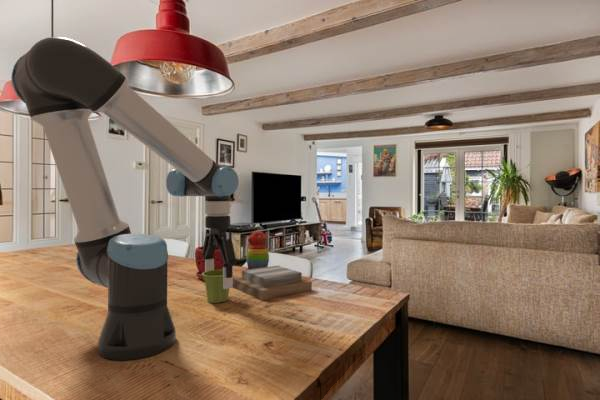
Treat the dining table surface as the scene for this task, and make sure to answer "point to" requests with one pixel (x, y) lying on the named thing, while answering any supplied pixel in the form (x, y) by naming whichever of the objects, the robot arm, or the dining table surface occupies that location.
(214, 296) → the plant pot
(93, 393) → the dining table surface
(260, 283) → the stepped square platform
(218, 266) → the plant pot
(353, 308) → the dining table surface
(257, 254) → the stacking bear
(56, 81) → the robot arm
